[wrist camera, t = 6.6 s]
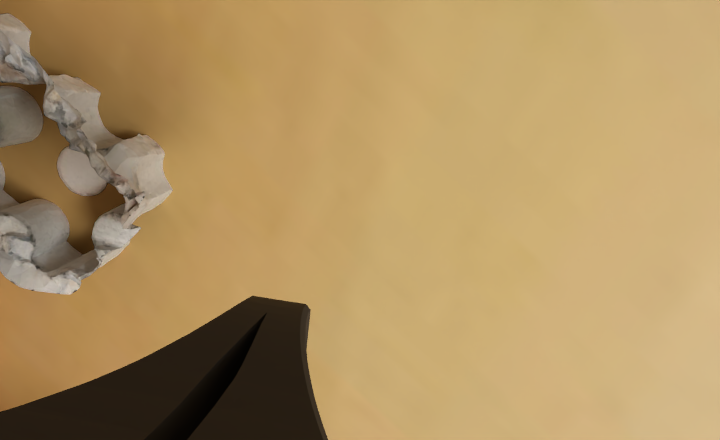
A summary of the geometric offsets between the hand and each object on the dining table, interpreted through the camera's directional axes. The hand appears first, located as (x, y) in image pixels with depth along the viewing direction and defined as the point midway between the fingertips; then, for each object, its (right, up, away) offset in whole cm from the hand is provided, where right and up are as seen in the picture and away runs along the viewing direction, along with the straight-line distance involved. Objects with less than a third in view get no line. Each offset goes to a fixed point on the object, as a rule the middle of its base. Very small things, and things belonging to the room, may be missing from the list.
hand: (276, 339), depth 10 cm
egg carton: (-11, +6, +9) cm, 16 cm away
